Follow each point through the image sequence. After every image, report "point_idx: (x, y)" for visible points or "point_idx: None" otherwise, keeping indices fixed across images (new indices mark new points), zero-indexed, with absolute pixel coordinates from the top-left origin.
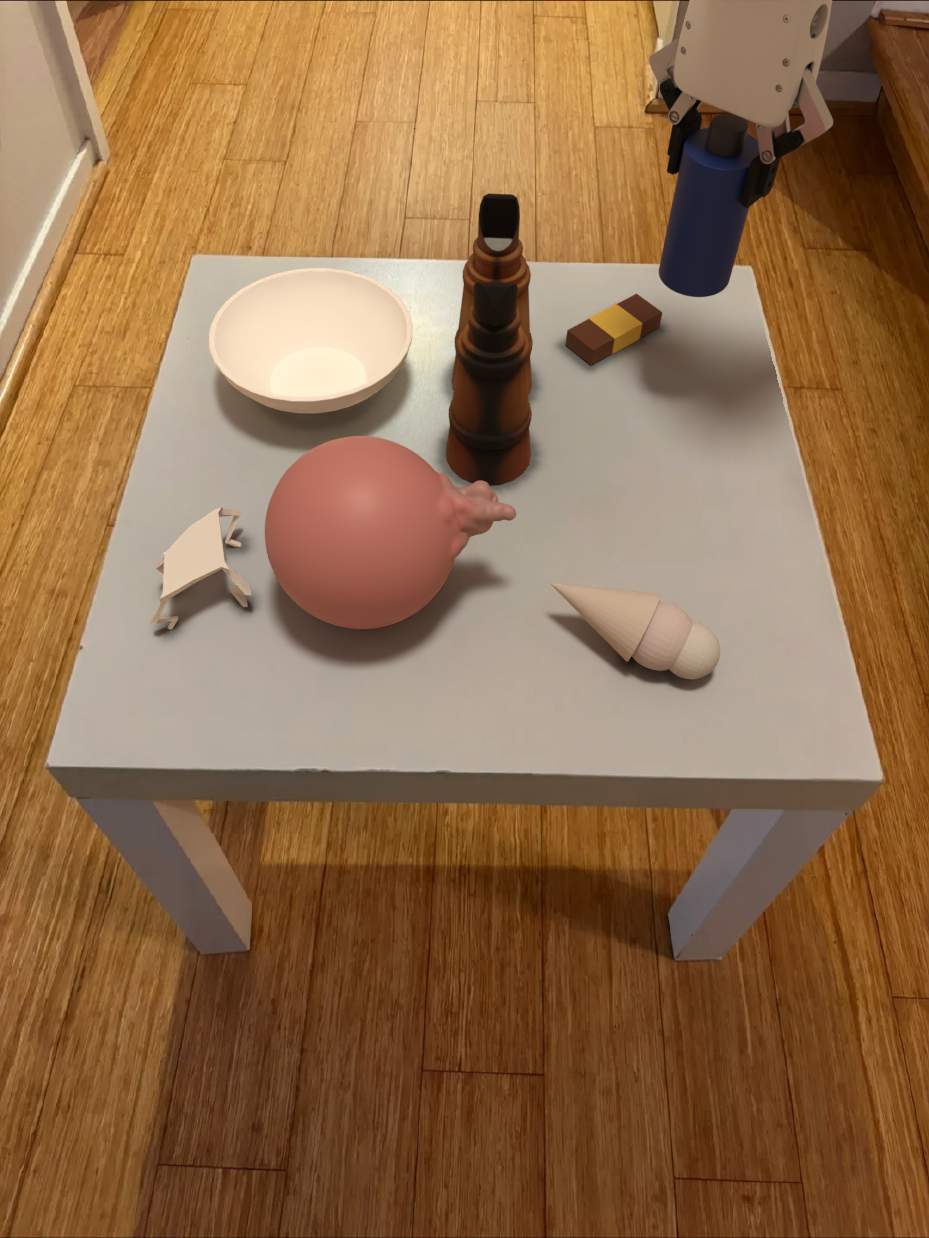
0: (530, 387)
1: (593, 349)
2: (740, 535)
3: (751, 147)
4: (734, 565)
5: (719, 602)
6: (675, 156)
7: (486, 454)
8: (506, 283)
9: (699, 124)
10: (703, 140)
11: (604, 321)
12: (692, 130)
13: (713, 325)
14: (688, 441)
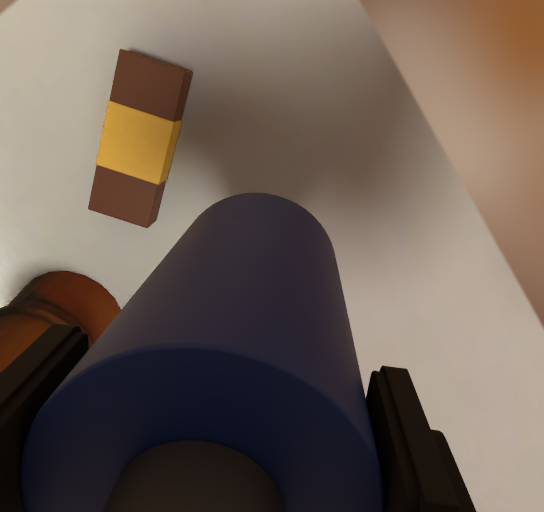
0: (117, 310)
1: (146, 225)
2: (468, 381)
3: (304, 450)
4: (476, 420)
5: (477, 468)
6: None
7: None
8: None
9: (5, 437)
10: (94, 504)
11: (121, 156)
12: (12, 485)
13: (266, 3)
14: (348, 277)
